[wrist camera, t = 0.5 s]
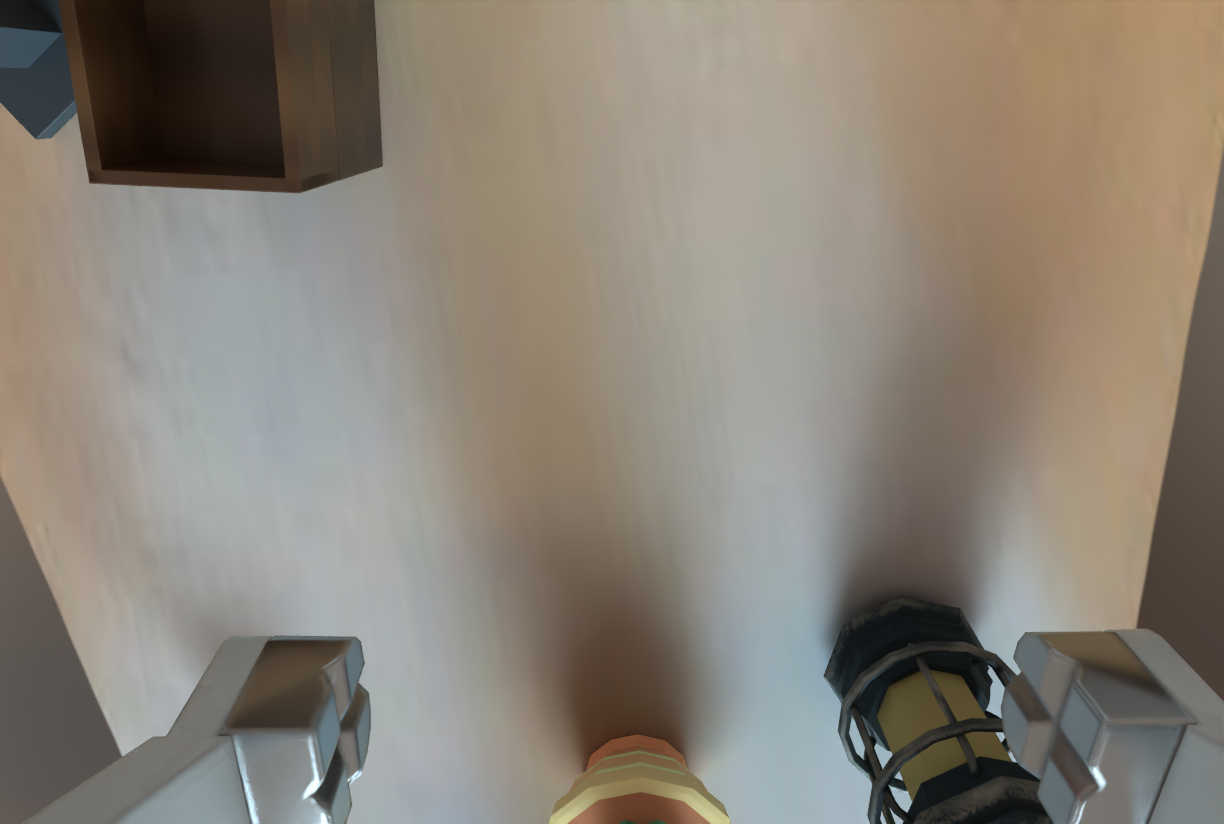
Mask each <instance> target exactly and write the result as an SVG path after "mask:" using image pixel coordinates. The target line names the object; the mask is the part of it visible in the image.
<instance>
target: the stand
mask: <svg viewBox="0 0 1224 824" xmlns="http://www.w3.org/2000/svg"><path fill="white" fill-rule="evenodd" d="M0 102H1V103H2V104H3V106H4V107H5V108H6V109H7V110H8V111H9V112H10V113H11V114H12V115H13V116H14V117H15V118H16V119H17V120H18V121H19V122H20V123H21V124H22V125H23V126H24V127H25V128H26V129H27V131H28V132H29V133H30V134H31V135H32V136H33V137H34V138H35V139H45V138H51V137H52V136H53V135H55V134H56V133H57V132H58V131H59V130H60V129H61V128H62V127H63V126H64V125H65V124H66V123H67V122H68V121H69V120H70V119H71V118H72V117H73V116H74V115H75V114H76V113H77V108H76V102H75V96H74V90H73V85H72V79H71V73H70V67H69V61H68V56H67V50H66V44H65V38H64V32H63V27H62V21H61V15H60V9H59V3H58V0H0Z"/></svg>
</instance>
